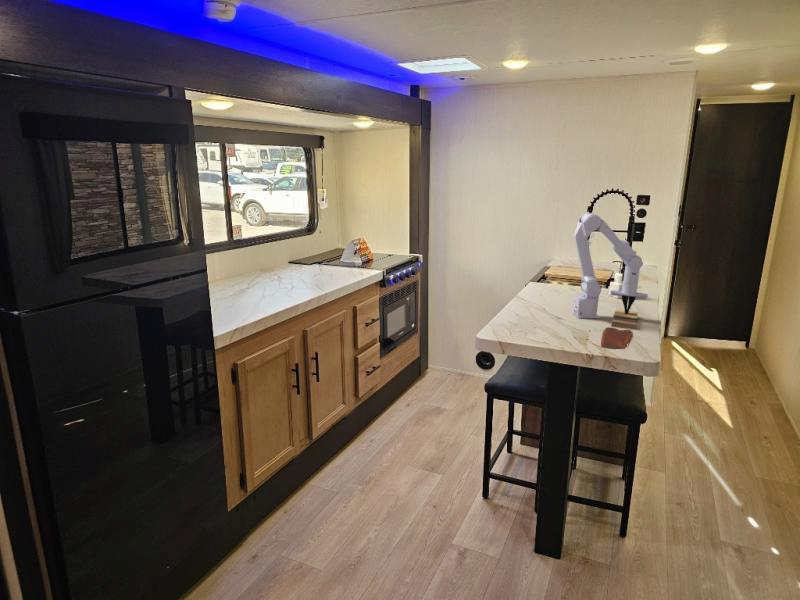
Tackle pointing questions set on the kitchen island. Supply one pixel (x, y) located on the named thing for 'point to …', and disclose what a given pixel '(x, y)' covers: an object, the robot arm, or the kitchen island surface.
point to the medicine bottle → (617, 284)
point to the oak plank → (630, 314)
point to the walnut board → (624, 322)
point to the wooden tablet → (615, 338)
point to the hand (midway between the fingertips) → (626, 313)
